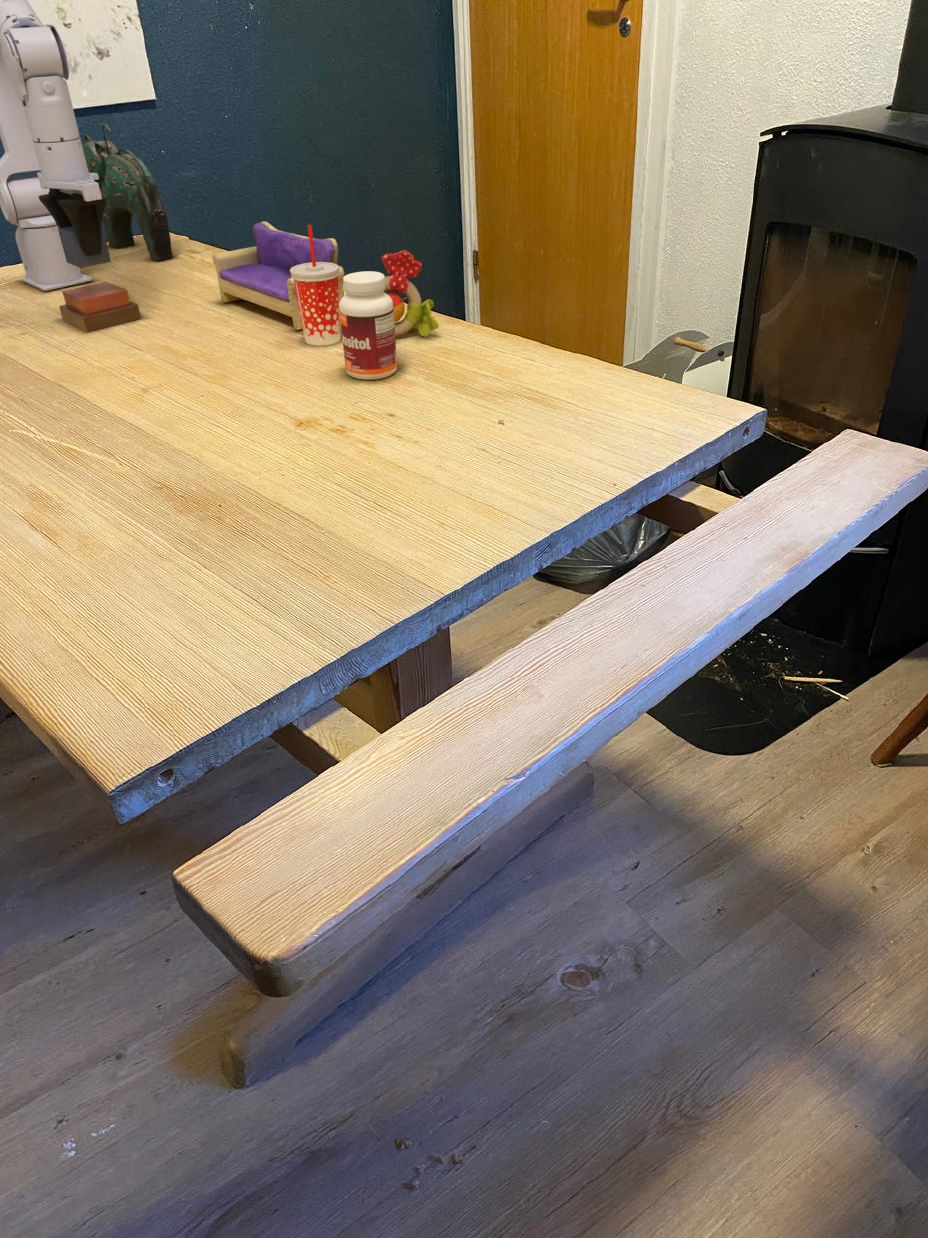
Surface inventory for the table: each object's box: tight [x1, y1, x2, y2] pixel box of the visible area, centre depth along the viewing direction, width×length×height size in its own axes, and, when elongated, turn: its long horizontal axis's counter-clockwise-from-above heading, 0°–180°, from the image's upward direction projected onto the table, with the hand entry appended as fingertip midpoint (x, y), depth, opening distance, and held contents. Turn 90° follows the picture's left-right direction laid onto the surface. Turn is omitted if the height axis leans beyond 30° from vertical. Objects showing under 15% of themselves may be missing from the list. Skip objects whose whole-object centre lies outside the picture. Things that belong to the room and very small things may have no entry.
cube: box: [58, 226, 112, 269], centre depth 122 cm, size 4×4×4 cm
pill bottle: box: [339, 270, 398, 381], centre depth 104 cm, size 6×6×11 cm
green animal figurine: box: [82, 122, 173, 262], centre depth 154 cm, size 20×6×20 cm, turn 44°
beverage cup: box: [290, 224, 342, 347], centre depth 114 cm, size 6×6×14 cm
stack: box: [58, 281, 142, 333], centre depth 127 cm, size 8×8×4 cm
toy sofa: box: [211, 221, 345, 331], centre depth 126 cm, size 21×9×10 cm, turn 43°
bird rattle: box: [381, 249, 439, 338], centre depth 115 cm, size 6×11×9 cm
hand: (85, 251), depth 123 cm, fingers closed on cube, 4 cm apart
